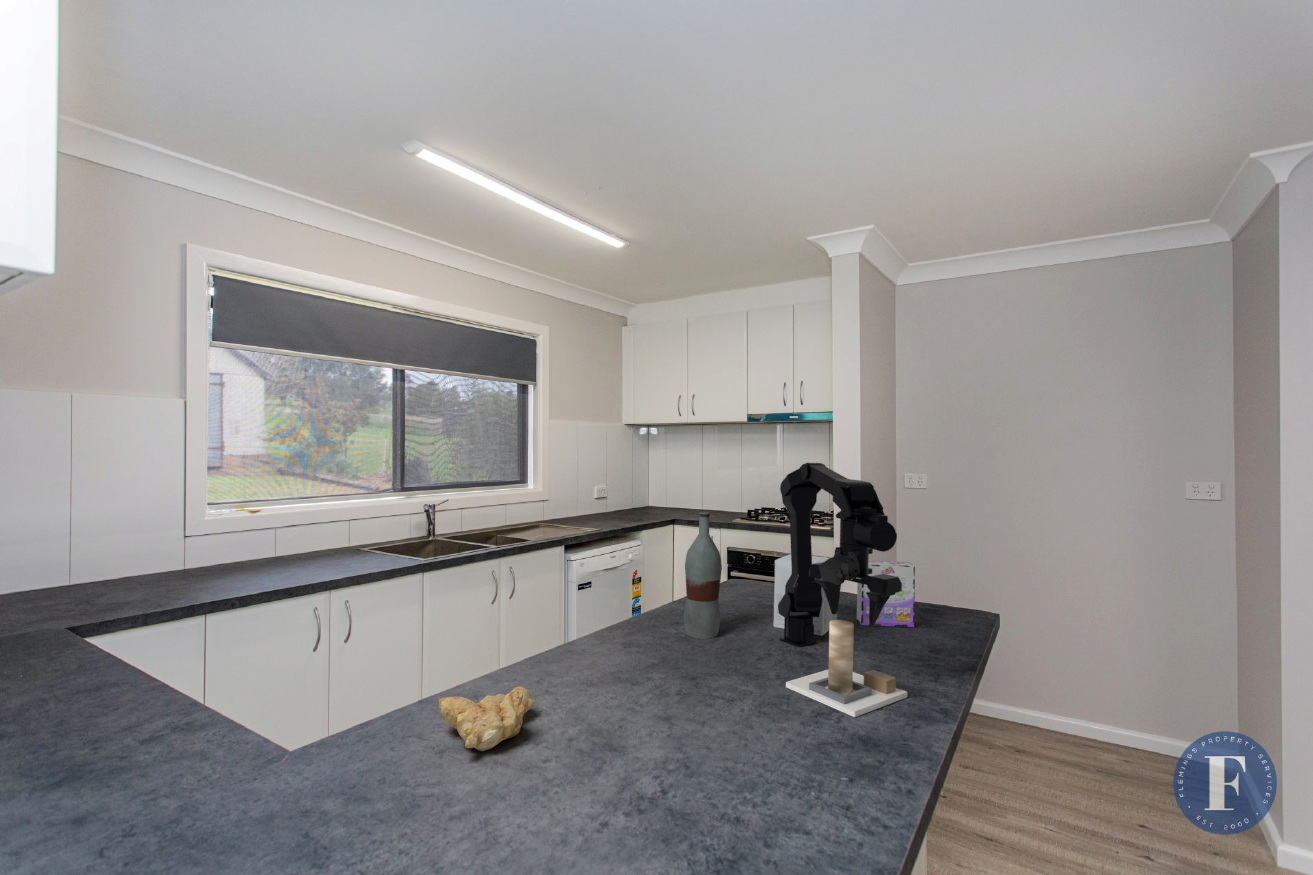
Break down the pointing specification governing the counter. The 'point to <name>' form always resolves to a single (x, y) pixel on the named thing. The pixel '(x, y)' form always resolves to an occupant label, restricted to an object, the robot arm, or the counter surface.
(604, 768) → the counter surface
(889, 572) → the candy box
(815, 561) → the supplement box
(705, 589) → the bottle
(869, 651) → the counter surface
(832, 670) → the wooden column
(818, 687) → the plate
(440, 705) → the ginger root
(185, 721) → the counter surface
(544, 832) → the counter surface
